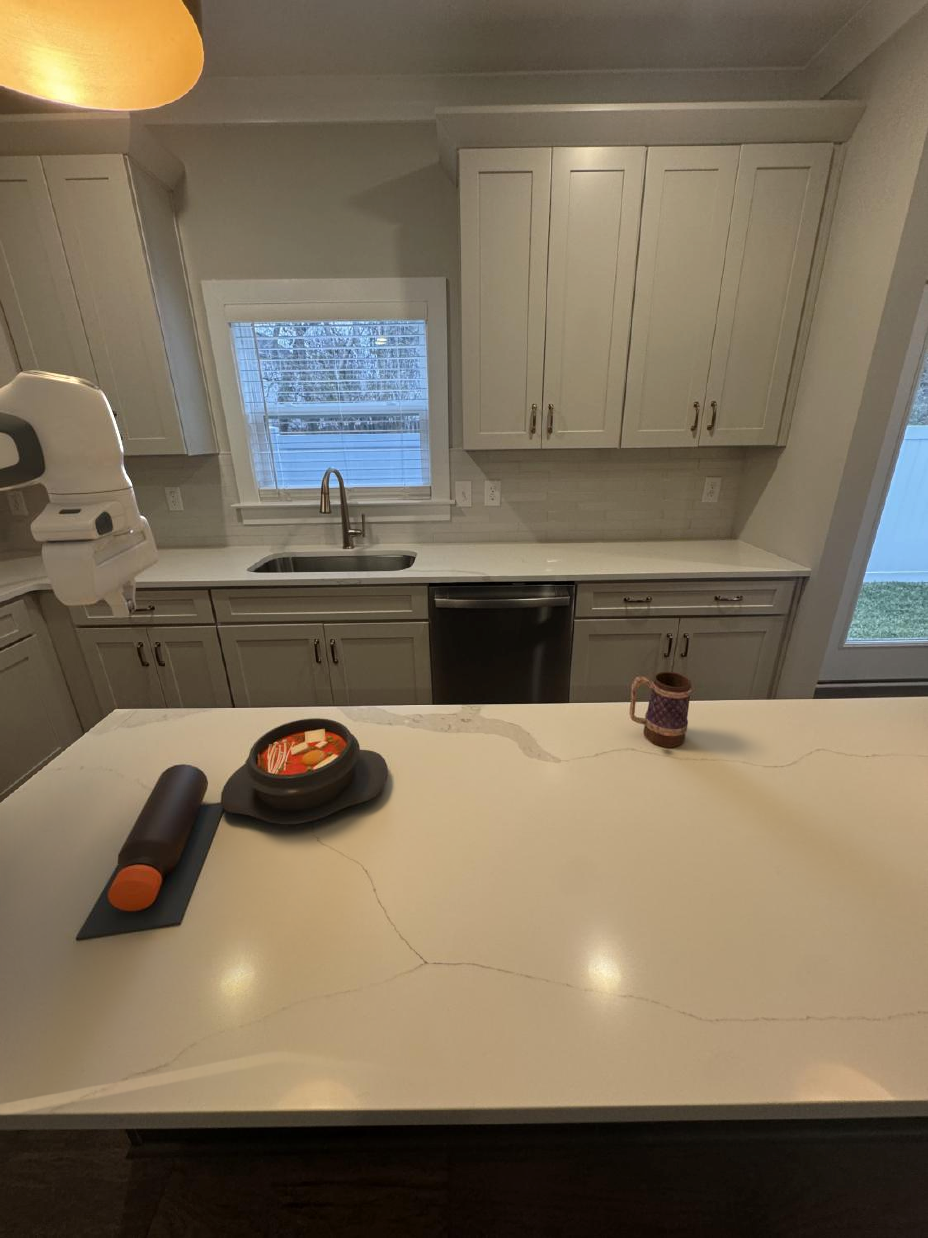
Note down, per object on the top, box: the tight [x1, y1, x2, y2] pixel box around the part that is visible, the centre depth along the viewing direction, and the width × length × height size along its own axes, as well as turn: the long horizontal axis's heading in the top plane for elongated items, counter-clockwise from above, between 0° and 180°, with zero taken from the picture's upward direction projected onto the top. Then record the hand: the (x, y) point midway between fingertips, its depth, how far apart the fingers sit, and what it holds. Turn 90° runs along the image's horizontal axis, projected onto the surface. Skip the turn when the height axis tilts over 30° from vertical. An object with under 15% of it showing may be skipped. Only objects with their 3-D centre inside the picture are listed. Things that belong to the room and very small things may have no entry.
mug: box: [628, 671, 692, 748], centre depth 89 cm, size 10×7×12 cm
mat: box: [75, 801, 225, 941], centre depth 67 cm, size 11×20×1 cm, turn 9°
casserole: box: [220, 717, 389, 825], centre depth 78 cm, size 25×19×8 cm
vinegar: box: [108, 763, 209, 911], centre depth 67 cm, size 7×7×20 cm
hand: (126, 613), depth 70 cm, fingers closed
